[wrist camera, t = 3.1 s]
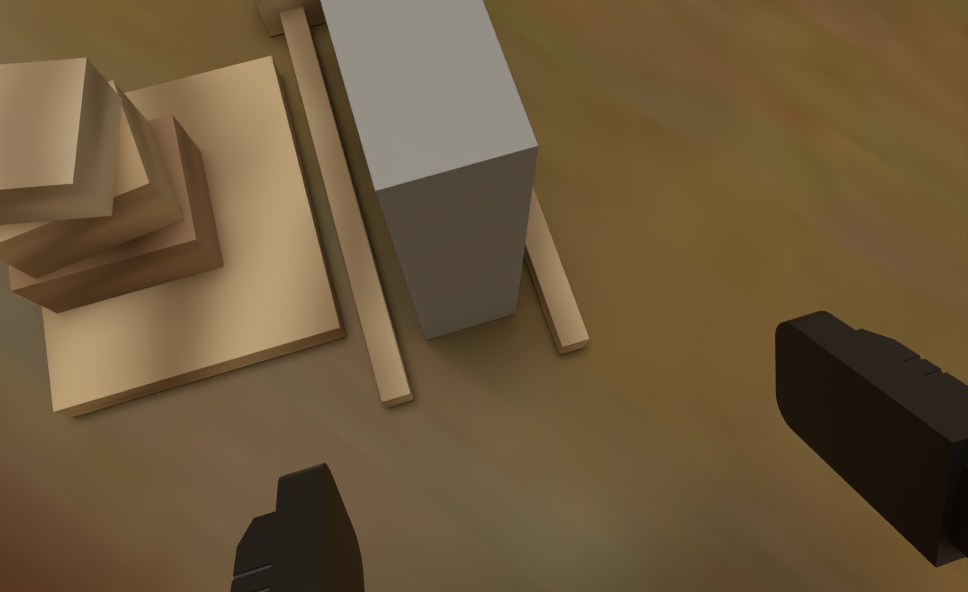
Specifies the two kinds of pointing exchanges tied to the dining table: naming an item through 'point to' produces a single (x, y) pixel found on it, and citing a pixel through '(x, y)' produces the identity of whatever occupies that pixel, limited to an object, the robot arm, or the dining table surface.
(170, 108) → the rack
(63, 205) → the offcut
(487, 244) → the gray eraser-like brick
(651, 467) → the dining table surface
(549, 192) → the dining table surface
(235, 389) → the dining table surface
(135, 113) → the offcut
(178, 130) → the offcut
